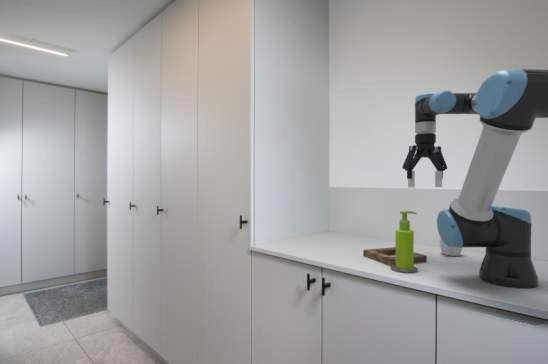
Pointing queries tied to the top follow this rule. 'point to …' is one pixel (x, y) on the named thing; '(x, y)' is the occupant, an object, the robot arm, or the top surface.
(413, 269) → the coaster
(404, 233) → the soap dispenser
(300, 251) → the top surface
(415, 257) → the pocket frame
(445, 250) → the mug
